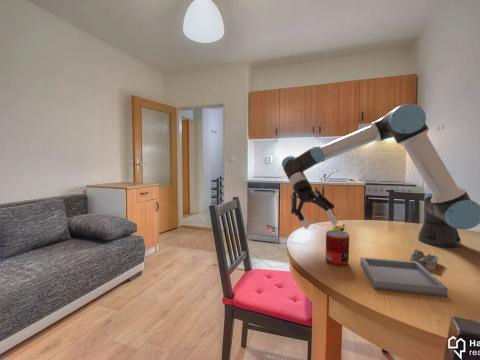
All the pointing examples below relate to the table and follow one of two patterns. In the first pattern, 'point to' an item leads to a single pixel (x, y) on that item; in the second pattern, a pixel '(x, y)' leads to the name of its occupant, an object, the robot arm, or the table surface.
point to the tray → (402, 277)
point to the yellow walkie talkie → (338, 227)
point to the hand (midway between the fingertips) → (321, 225)
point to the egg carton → (424, 259)
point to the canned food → (337, 247)
